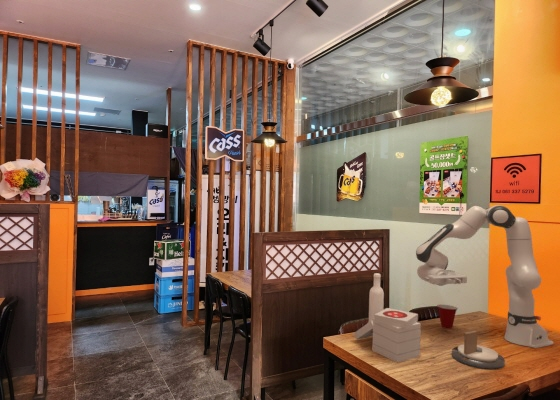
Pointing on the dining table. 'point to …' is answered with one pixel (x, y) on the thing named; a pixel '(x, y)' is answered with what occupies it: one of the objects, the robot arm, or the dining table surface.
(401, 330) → the pizza boxes
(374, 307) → the bottle
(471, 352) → the dial
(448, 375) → the dining table surface
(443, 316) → the plastic cup
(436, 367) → the dining table surface
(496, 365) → the dial housing
